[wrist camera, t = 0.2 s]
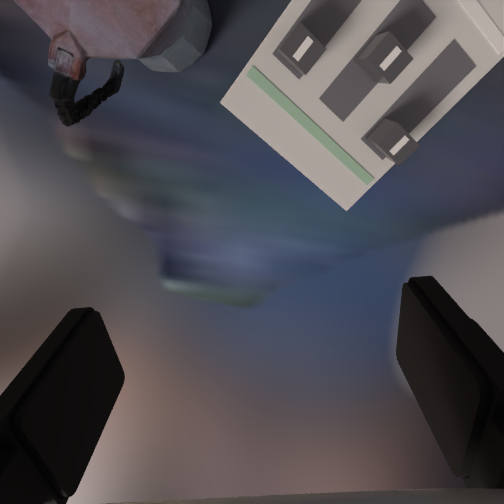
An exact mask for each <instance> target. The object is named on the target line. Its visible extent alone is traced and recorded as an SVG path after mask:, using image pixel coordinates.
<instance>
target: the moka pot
mask: <svg viewBox="0 0 504 504" xmlns="http://www.w3.org/2000/svg"><path fill="white" fill-rule="evenodd" d="M14 1H15V3H16V4H17V5H19V6H20V7H21V8H22V9H23V10H24V11H25V12H26V13H27V14H28V15H29V16H30V17H31V18H32V19H33V20H34V21H35V22H36V23H37V24H38V25H39V26H40V27H41V28H42V29H43V30H44V32H45V33H46V34H47V35H48V36H49V37H50V38H51V43H50V49H49V56H48V65H49V66H50V67H51V68H52V69H53V70H54V75H53V79H52V83H51V87H50V94H49V96H50V97H51V98H52V99H53V101H54V103H55V107H56V108H57V111H58V115H59V116H60V120H61V121H62V123H63V124H64V125H65V126H71V125H73V124H76V123H78V122H80V120H81V119H84V118H85V117H87V116H89V115H90V114H91V112H92V111H93V109H96V108H97V107H98V106H99V105H100V104H101V101H106V99H107V98H108V97H110V96H112V95H113V94H115V93H117V92H118V91H119V89H120V86H121V82H122V77H123V75H124V66H123V65H122V63H121V62H120V60H115V62H114V63H113V67H112V72H111V76H110V78H109V80H108V81H107V83H106V84H105V85H104V86H103V87H102V88H98V89H96V90H95V91H93V93H92V94H91V95H87V96H84V98H82V99H81V100H79V101H78V102H76V103H74V96H75V93H76V90H77V87H78V85H79V83H80V81H81V80H82V79H83V78H84V77H85V74H86V61H87V60H88V59H89V58H111V59H139V60H140V61H141V62H142V63H143V64H144V65H146V66H147V67H148V68H149V69H150V70H153V71H159V72H182V71H183V70H185V69H187V68H188V67H189V66H191V65H192V64H193V63H195V62H196V61H197V60H198V59H200V58H201V57H202V56H203V55H204V52H205V50H206V47H207V44H208V40H209V36H210V33H211V29H212V19H211V13H210V9H209V5H208V1H207V0H14Z"/></svg>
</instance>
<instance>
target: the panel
mask: <svg viewBox="0 0 504 504" xmlns="http://www.w3.org/2000/svg"><path fill="white" fill-rule="evenodd" d="M299 21H300V22H301V23H302V24H303V25H304V26H305V27H306V28H307V29H308V30H309V31H310V33H311V34H312V35H313V36H314V37H315V38H316V39H317V40H318V41H319V42H320V43H321V44H322V45H323V46H324V47H325V48H326V50H325V52H324V53H323V54H322V56H321V57H320V58H319V59H318V61H317V62H316V63H315V64H314V66H313V67H312V68H311V69H310V71H309V72H308V73H307V75H301V74H300V73H299V72H298V71H297V70H295V69H294V68H293V67H292V66H291V65H290V64H289V63H288V62H287V61H286V60H285V59H284V58H283V57H282V56H281V55H280V54H279V53H278V52H277V50H278V49H279V48H280V46H281V45H282V44H283V42H284V41H285V39H286V38H287V37H288V35H289V34H290V33H291V31H292V30H293V28H294V27H295V26H296V25H297V23H298V22H299ZM389 31H390V32H391V33H392V34H393V36H394V37H395V38H396V39H397V40H398V41H399V42H400V44H401V45H402V46H403V47H404V48H405V49H406V50H407V52H408V53H409V54H410V55H411V56H412V57H413V58H414V59H413V60H412V61H411V62H410V63H409V65H408V66H407V67H406V68H405V69H404V70H403V71H402V72H401V73H400V74H399V76H398V77H397V78H396V79H395V80H394V81H393V82H392V83H391V84H384V83H376V82H375V81H374V80H373V79H372V78H371V77H370V76H369V75H368V74H367V73H366V72H365V71H364V70H363V68H362V67H361V66H360V65H359V64H358V63H357V62H356V61H355V58H356V57H357V56H358V55H359V54H360V52H361V51H362V50H363V49H364V48H365V46H366V45H367V44H368V43H369V42H370V40H371V39H372V38H373V37H374V36H376V35H379V34H382V33H385V32H389ZM503 57H504V0H292V1H291V2H290V3H289V5H288V6H287V8H286V9H285V11H284V12H283V13H282V15H281V16H280V18H279V19H278V21H277V22H276V23H275V25H274V26H273V28H272V29H271V31H270V32H269V33H268V35H267V36H266V38H265V39H264V40H263V42H262V43H261V45H260V46H259V48H258V49H257V50H256V52H255V53H254V55H253V56H252V58H251V59H250V60H249V62H248V63H247V65H246V66H245V68H244V69H243V70H242V72H241V73H240V75H239V76H238V78H237V79H236V80H235V82H234V83H233V85H232V86H231V87H230V89H229V90H228V92H227V93H226V95H225V96H224V97H223V99H222V100H221V102H220V103H221V104H222V105H223V106H225V107H226V108H227V109H228V110H229V111H230V112H232V113H233V114H234V115H235V116H236V117H237V118H239V119H240V120H241V121H242V122H243V123H244V124H246V125H247V126H248V127H249V128H250V129H251V130H252V131H254V132H255V133H256V134H257V135H258V136H259V137H261V138H262V139H263V140H264V141H265V142H266V143H268V144H269V145H270V146H271V147H272V148H273V149H275V150H276V151H277V152H278V153H279V154H280V155H282V156H283V157H284V158H285V159H286V160H287V161H289V162H290V163H291V164H292V165H293V166H294V167H296V168H297V169H298V170H299V171H300V172H301V173H303V174H304V175H305V176H306V177H307V178H308V179H310V180H311V181H312V182H313V183H314V184H315V185H317V186H318V187H319V188H320V189H321V190H322V191H324V192H325V193H326V194H327V195H328V196H329V197H331V198H332V199H333V200H334V201H335V202H336V203H338V204H339V205H340V206H341V207H342V208H343V209H345V210H346V211H347V210H348V209H349V208H350V207H351V206H352V205H353V204H354V203H355V202H356V201H357V200H358V199H359V198H360V197H361V196H362V195H363V194H364V193H365V192H366V191H367V190H368V189H369V188H370V187H372V186H373V185H374V184H375V183H376V182H377V181H378V180H379V179H380V178H381V177H382V176H383V175H384V174H385V173H386V172H387V171H388V170H389V169H390V168H391V167H392V166H393V165H394V164H395V163H394V162H392V161H391V160H390V159H388V158H387V157H385V156H384V155H383V154H382V153H381V152H380V151H379V150H378V149H377V148H376V147H375V146H374V145H373V144H372V143H371V142H370V141H369V140H368V139H367V138H366V137H367V136H368V134H369V133H370V132H371V131H372V130H373V129H374V128H375V127H376V126H377V125H378V124H379V123H380V122H381V121H382V120H383V119H384V118H385V119H388V120H390V121H393V122H396V123H398V124H400V125H401V126H402V127H403V129H404V130H405V131H406V132H407V133H408V134H409V135H410V136H411V137H412V138H413V139H414V140H415V141H416V142H417V141H418V140H419V139H420V138H421V137H422V136H423V135H424V134H425V133H426V132H427V131H428V130H429V129H430V128H431V127H432V126H434V125H435V124H436V123H437V122H438V121H439V120H440V119H441V118H442V117H443V116H444V115H445V114H446V113H447V112H448V111H449V110H450V109H451V108H452V107H453V106H454V105H455V104H456V103H457V102H458V101H459V100H460V99H461V98H462V97H463V96H464V95H465V94H466V93H467V92H468V91H469V90H470V89H471V88H472V87H473V86H474V85H475V84H476V83H477V82H478V81H479V80H480V79H481V78H482V77H483V76H484V75H485V74H486V73H487V72H488V71H489V70H490V69H491V68H492V67H493V66H495V65H496V64H497V63H498V62H499V61H500V60H501V59H502V58H503Z"/></svg>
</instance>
